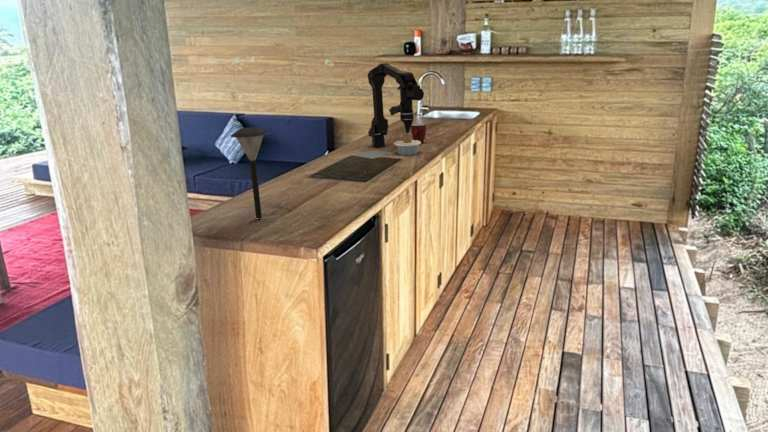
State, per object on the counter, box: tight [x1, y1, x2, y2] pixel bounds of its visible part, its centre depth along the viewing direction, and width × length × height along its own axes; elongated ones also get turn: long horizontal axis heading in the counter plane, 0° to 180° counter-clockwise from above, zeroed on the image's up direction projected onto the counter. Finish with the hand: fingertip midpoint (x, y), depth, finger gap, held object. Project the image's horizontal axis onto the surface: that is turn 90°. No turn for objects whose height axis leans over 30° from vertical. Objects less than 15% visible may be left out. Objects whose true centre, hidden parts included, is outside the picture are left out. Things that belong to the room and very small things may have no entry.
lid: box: [393, 133, 422, 147], centre depth 293 cm, size 13×13×5 cm
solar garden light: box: [230, 126, 270, 219], centre depth 194 cm, size 12×12×30 cm
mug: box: [410, 123, 427, 144], centre depth 320 cm, size 11×8×10 cm
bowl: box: [396, 145, 420, 156], centre depth 294 cm, size 10×10×5 cm
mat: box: [352, 149, 397, 160], centre depth 296 cm, size 16×16×1 cm
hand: (407, 131), depth 292 cm, fingers open, 9 cm apart
